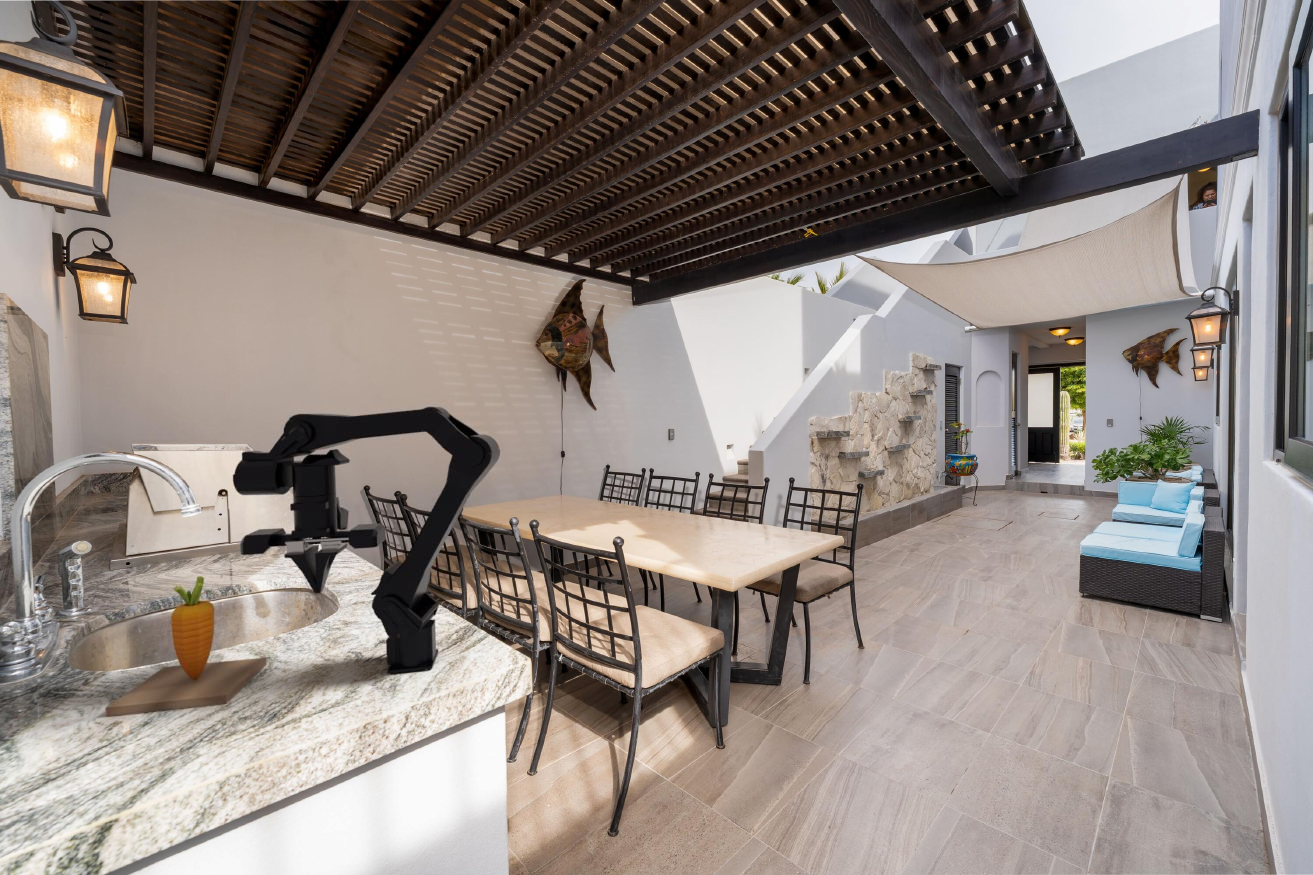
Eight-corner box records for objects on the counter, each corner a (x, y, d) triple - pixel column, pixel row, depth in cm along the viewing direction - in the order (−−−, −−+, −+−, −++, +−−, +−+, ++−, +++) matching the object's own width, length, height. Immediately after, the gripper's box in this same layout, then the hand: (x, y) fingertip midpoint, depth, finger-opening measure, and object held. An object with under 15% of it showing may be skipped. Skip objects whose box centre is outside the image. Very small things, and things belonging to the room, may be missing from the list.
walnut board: (266, 664, 89) (266, 657, 89) (226, 703, 77) (226, 694, 77) (164, 674, 86) (164, 666, 86) (106, 716, 74) (105, 707, 74)
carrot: (179, 691, 78) (175, 586, 77) (168, 681, 81) (164, 580, 80) (222, 677, 82) (218, 578, 81) (210, 668, 85) (207, 572, 84)
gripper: (392, 484, 96) (395, 573, 97) (271, 489, 92) (275, 581, 93) (374, 494, 85) (378, 594, 86) (236, 499, 81) (241, 604, 82)
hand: (318, 592), depth 87 cm, fingers closed
